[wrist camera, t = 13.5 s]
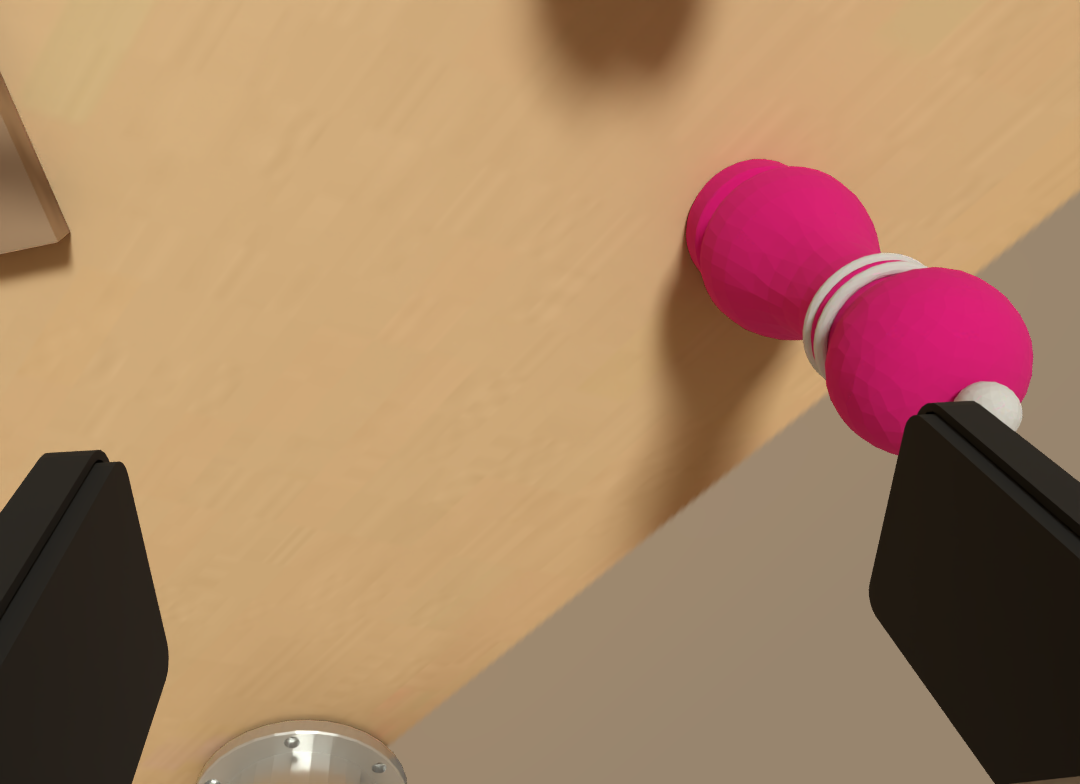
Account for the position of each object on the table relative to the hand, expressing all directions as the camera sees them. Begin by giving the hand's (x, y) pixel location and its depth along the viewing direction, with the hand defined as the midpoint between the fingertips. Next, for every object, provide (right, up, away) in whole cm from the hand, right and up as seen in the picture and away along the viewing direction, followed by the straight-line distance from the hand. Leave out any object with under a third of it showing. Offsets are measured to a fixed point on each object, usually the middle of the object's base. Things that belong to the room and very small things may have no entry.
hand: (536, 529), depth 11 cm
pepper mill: (+10, +10, +31) cm, 34 cm away
